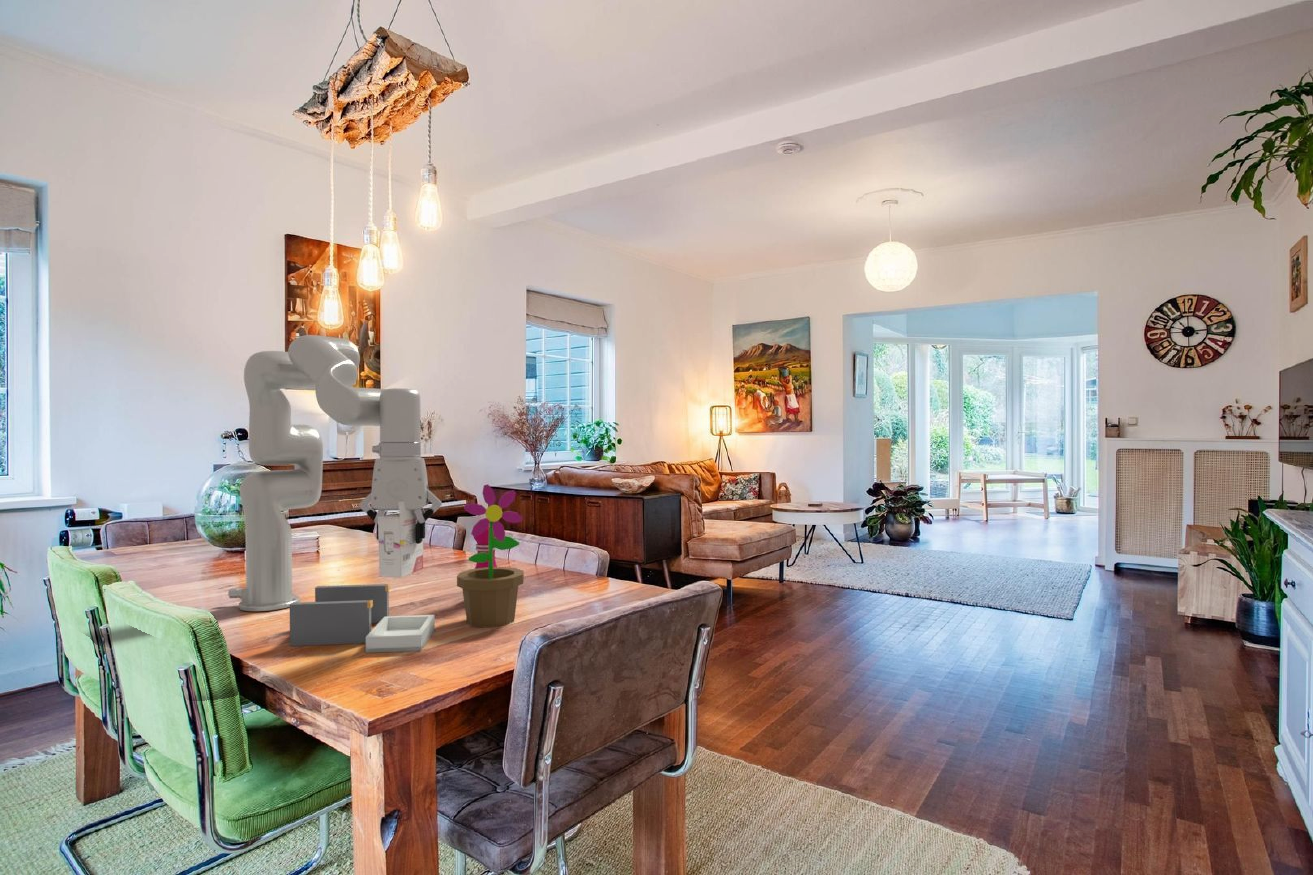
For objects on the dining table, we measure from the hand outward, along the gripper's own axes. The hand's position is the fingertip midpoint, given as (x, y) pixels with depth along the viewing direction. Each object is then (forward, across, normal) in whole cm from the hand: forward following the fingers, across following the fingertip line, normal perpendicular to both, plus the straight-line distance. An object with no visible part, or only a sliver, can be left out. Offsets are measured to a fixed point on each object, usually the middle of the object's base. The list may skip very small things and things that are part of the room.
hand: (401, 541), depth 138 cm
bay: (+19, -13, +7) cm, 25 cm away
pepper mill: (+20, +13, +31) cm, 39 cm away
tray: (+19, 0, 0) cm, 19 cm away
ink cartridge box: (+6, 0, 0) cm, 6 cm away
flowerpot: (+20, +16, +12) cm, 28 cm away
